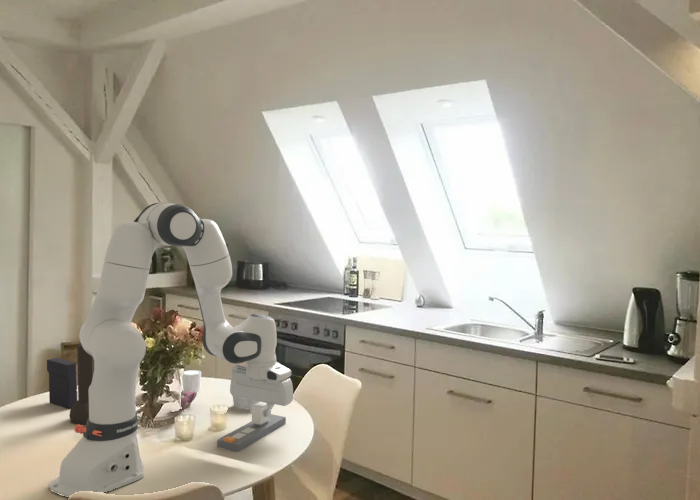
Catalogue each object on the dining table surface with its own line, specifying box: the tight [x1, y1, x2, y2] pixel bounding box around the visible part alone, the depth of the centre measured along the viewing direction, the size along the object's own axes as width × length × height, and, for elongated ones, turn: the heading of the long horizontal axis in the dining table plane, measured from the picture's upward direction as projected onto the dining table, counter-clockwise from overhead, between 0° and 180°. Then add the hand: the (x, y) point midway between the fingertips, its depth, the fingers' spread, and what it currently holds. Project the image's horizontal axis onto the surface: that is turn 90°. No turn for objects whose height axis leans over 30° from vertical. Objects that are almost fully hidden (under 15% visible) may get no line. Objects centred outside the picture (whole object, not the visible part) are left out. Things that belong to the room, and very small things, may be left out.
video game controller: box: [180, 390, 198, 411], centre depth 205 cm, size 10×5×7 cm, turn 169°
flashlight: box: [69, 342, 95, 426], centre depth 192 cm, size 10×25×10 cm
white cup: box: [181, 369, 202, 394], centre depth 223 cm, size 7×7×7 cm
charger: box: [251, 402, 269, 426], centre depth 183 cm, size 4×3×7 cm
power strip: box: [216, 413, 287, 453], centre depth 180 cm, size 24×7×4 cm, turn 154°
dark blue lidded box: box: [46, 357, 78, 410], centre depth 206 cm, size 11×4×15 cm, turn 58°
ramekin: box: [232, 396, 266, 411], centre depth 206 cm, size 13×13×7 cm
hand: (260, 414), depth 183 cm, fingers closed on charger, 3 cm apart
